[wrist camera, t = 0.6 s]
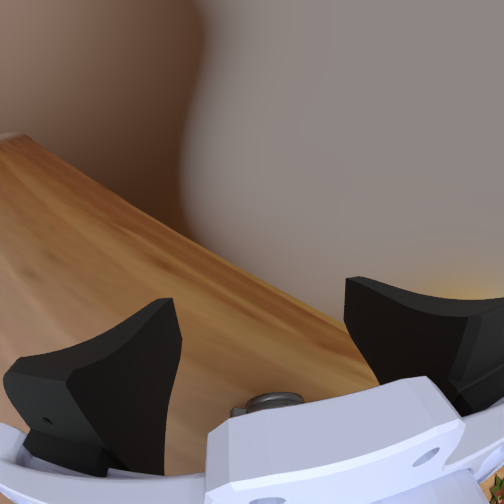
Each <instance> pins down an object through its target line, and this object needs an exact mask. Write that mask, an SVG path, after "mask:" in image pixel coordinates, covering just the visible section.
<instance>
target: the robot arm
mask: <svg viewBox="0 0 504 504" xmlns="http://www.w3.org/2000/svg"><path fill="white" fill-rule="evenodd" d="M344 323H345V325H346V327H347V330H348V332H349V334H350V336H351V338H352V340H353V341H354V343H355V345H356V346H357V348H358V349H359V351H360V352H361V354H362V355H363V357H364V358H365V360H366V362H367V363H368V365H369V366H370V368H371V369H372V371H373V372H374V374H375V376H376V378H377V380H378V382H379V384H380V386H377V387H373V388H370V389H366V390H362V391H359V392H355V393H351V394H347V395H343V396H338V397H334V398H329V399H324V400H319V401H314V402H309V403H303V404H298V405H291V406H285V407H278V408H270V409H263V410H259V411H255V412H252V413H248V414H244V415H240V416H236V417H232V418H230V419H228V420H226V421H225V422H224V423H222V424H221V425H220V426H218V427H217V428H215V429H214V430H213V431H211V432H210V433H208V439H207V447H206V463H205V472H200V473H193V474H185V475H176V476H164V448H165V431H166V420H167V411H168V404H169V399H170V395H171V391H172V388H173V384H174V380H175V376H176V373H177V369H178V365H179V361H180V356H181V347H182V336H181V332H180V328H179V324H178V320H177V316H176V312H175V307H174V303H173V298H162V299H157V300H155V301H153V302H151V303H150V304H148V305H147V306H145V307H144V308H142V309H141V310H140V311H138V312H137V313H135V314H134V315H132V316H131V317H129V318H128V319H126V320H125V321H123V322H121V323H120V324H118V325H117V326H115V327H114V328H112V329H110V330H108V331H106V332H105V333H103V334H101V335H99V336H96V337H94V338H92V339H90V340H87V341H85V342H82V343H80V344H77V345H74V346H72V347H69V348H65V349H62V350H58V351H54V352H50V353H46V354H40V355H34V356H27V357H20V358H19V359H17V360H16V362H15V363H14V364H13V365H12V366H11V367H10V369H9V370H8V371H7V372H6V373H5V374H4V377H3V384H4V389H5V391H6V394H7V396H8V398H9V399H10V401H11V403H12V404H13V406H14V407H15V409H16V410H17V411H18V413H19V414H20V416H21V417H22V418H23V420H24V421H25V422H26V424H27V425H28V426H29V427H30V429H31V430H30V432H29V433H28V435H26V434H25V433H24V432H23V431H21V430H19V429H17V428H15V427H12V426H10V425H8V424H5V423H3V422H1V423H0V492H1V493H3V494H4V495H5V496H6V497H8V498H9V499H10V500H11V501H13V502H14V503H15V504H490V503H489V502H488V500H487V498H486V496H485V495H484V493H483V491H482V490H481V488H480V486H479V485H480V484H481V483H482V482H484V481H485V480H486V479H487V478H489V477H490V476H491V475H492V474H494V473H495V472H496V471H497V470H498V469H499V468H501V467H502V466H503V465H504V297H503V298H495V299H485V300H458V299H446V298H438V297H433V296H427V295H422V294H418V293H414V292H410V291H407V290H403V289H400V288H397V287H394V286H391V285H388V284H385V283H382V282H378V281H376V280H372V279H369V278H365V277H360V276H358V277H351V278H346V286H345V305H344Z"/></svg>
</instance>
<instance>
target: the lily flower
mask: <svg viewBox="0 0 504 504" xmlns="http://www.w3.org/2000/svg"><path fill="white" fill-rule="evenodd" d="M490 490H491V491H492V493H493V494H494V497H493V500H492V502H491V504H494V503H495V500H497V502H498V496H499V495H500V494H501V497H500V498H499V499H500V500H501V499H502V502H501V503H500V504H504V481H503V482H501V479H500V478H499V477H498V476H497V474H496V486H495V487H493V488H492V489H491V488H490ZM497 504H499V502H498V503H497Z"/></svg>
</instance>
